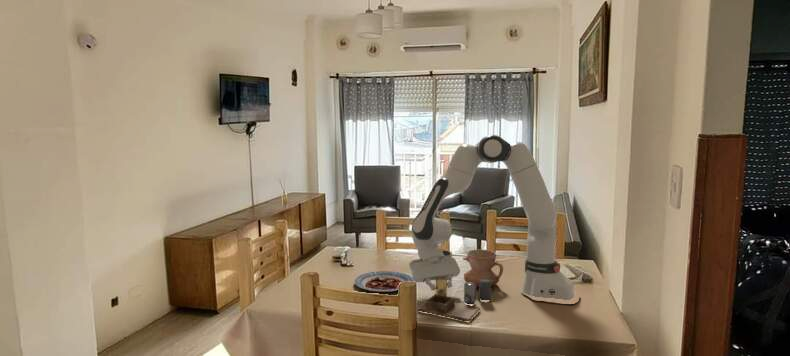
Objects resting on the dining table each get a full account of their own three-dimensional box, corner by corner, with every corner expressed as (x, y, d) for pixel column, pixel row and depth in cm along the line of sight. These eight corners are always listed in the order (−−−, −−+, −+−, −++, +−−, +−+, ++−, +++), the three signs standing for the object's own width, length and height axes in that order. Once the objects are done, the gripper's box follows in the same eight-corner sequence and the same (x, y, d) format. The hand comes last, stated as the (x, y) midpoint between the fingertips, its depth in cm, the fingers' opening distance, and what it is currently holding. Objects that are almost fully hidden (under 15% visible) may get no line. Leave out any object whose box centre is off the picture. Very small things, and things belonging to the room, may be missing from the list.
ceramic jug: (455, 286, 209) (456, 253, 207) (469, 277, 221) (470, 246, 219) (495, 294, 199) (496, 260, 197) (508, 284, 211) (509, 252, 210)
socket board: (480, 311, 181) (480, 299, 181) (468, 323, 171) (468, 310, 171) (431, 301, 191) (431, 290, 191) (417, 312, 181) (417, 300, 180)
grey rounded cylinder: (492, 300, 193) (492, 280, 192) (488, 303, 189) (488, 283, 188) (481, 298, 195) (481, 278, 194) (477, 301, 191) (477, 281, 190)
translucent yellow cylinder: (448, 297, 195) (448, 278, 194) (444, 301, 192) (444, 281, 191) (438, 295, 197) (438, 276, 197) (433, 299, 194) (434, 279, 193)
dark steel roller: (477, 303, 190) (477, 283, 189) (473, 307, 186) (473, 286, 185) (466, 301, 192) (466, 281, 191) (462, 304, 188) (462, 284, 187)
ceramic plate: (408, 298, 196) (408, 290, 195) (346, 293, 201) (346, 286, 200) (418, 277, 221) (418, 271, 220) (363, 274, 226) (363, 267, 225)
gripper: (410, 256, 195) (421, 288, 187) (454, 251, 203) (467, 281, 195) (405, 264, 199) (416, 295, 192) (449, 258, 207) (460, 288, 200)
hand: (442, 288), depth 193 cm, fingers open, 6 cm apart
